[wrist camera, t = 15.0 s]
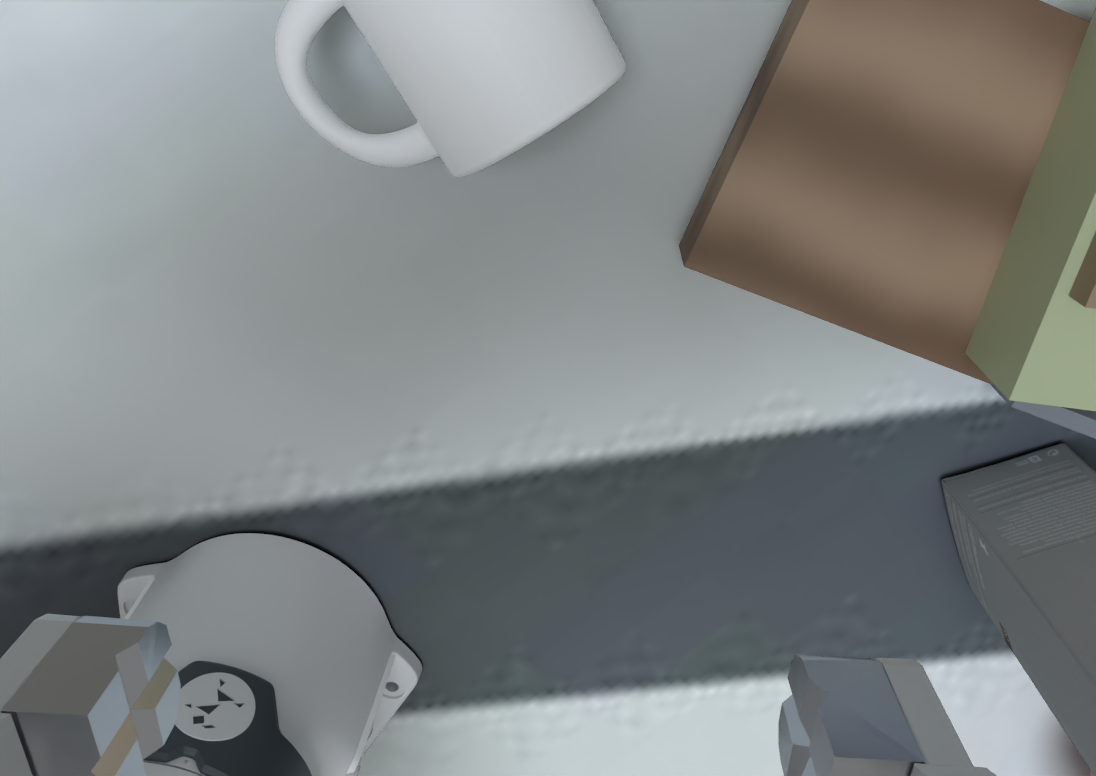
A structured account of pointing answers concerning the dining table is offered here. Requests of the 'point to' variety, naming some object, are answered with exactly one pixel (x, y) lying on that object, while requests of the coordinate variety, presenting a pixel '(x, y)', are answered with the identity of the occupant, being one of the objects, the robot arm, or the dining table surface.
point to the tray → (1059, 415)
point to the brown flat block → (886, 163)
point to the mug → (459, 73)
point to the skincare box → (1037, 572)
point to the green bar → (1050, 265)
